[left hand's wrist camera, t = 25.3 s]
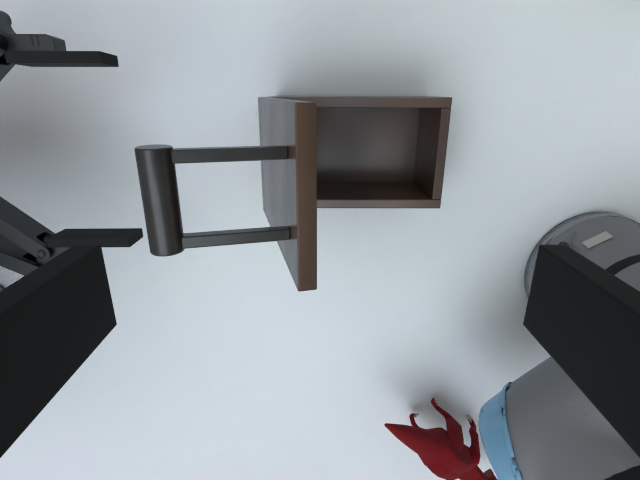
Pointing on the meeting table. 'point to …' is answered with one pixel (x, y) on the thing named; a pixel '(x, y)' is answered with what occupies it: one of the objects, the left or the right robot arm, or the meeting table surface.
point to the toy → (444, 448)
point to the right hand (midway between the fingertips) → (124, 154)
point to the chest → (380, 150)
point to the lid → (277, 185)
